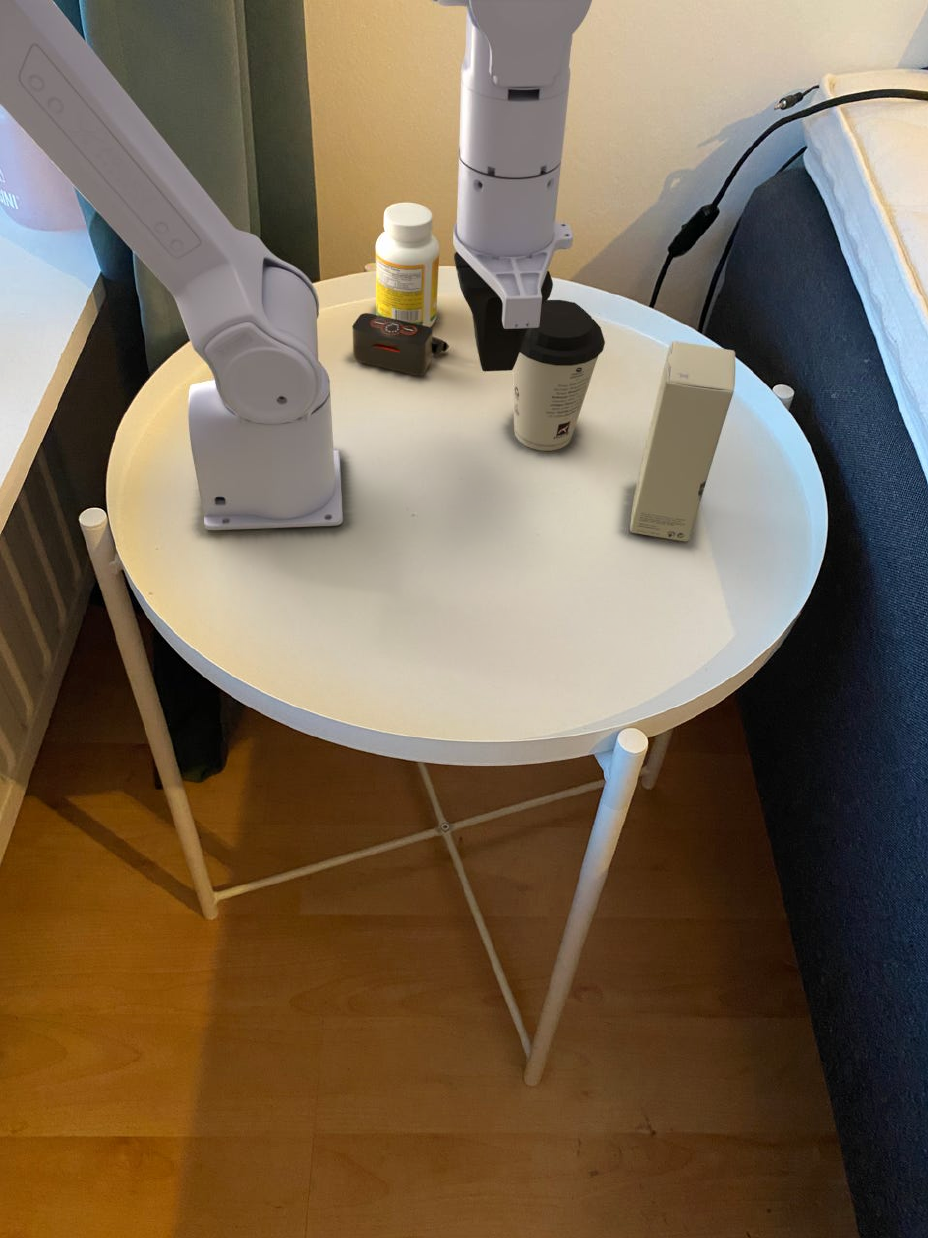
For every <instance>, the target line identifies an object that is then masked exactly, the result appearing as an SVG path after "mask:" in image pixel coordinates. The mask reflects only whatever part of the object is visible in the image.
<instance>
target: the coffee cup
mask: <svg viewBox="0 0 928 1238" xmlns="http://www.w3.org/2000/svg"><path fill="white" fill-rule="evenodd" d="M605 345H606V341H605V337H604V334H603V331H602V327H601V326H600V324H598V323H597V321H596V320H595V319H594V318H593V317H592V315H590V314H589V313H588V312H587V311H586V310H585V309H584V308H583V307H581V305H579V304H578V303H576V302H574V301H569V300H563V299H547V300H546V302H545V303H544V304H543V305H542V306H541V313H540V323H539V327H538V328H528V330H527V333H526V335H525V338H524V341H523V344H522V347H521V350H520V353H519V356H518V358H517V361H516V363H515V366H514V368H513V370H512V394H513V395H512V396H513V399H512V401H513V431H514V436H515V438H516V439H517V440H518V442H520V443H521V444H522V445H524V446H526V447H527V448H530V449H532V450H537V451H541V452H543V451H545V452H548V451H550V452H552V451H557V450H561V449H562V448H565V446H567V445H568V444H570V442H571V441H572V437H573V434H574V432H575V429H576V425H577V421H578V420H579V416H580V413H581V410H582V407H583V405H584V400H585V397H586V395H587V392H588V389H589V386H590V382H591V380H592V377H593V373H594V370H595V367H596V364H597V361H598V358H599V355H601V353H602V352H603V351H604V348H605Z"/></svg>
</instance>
